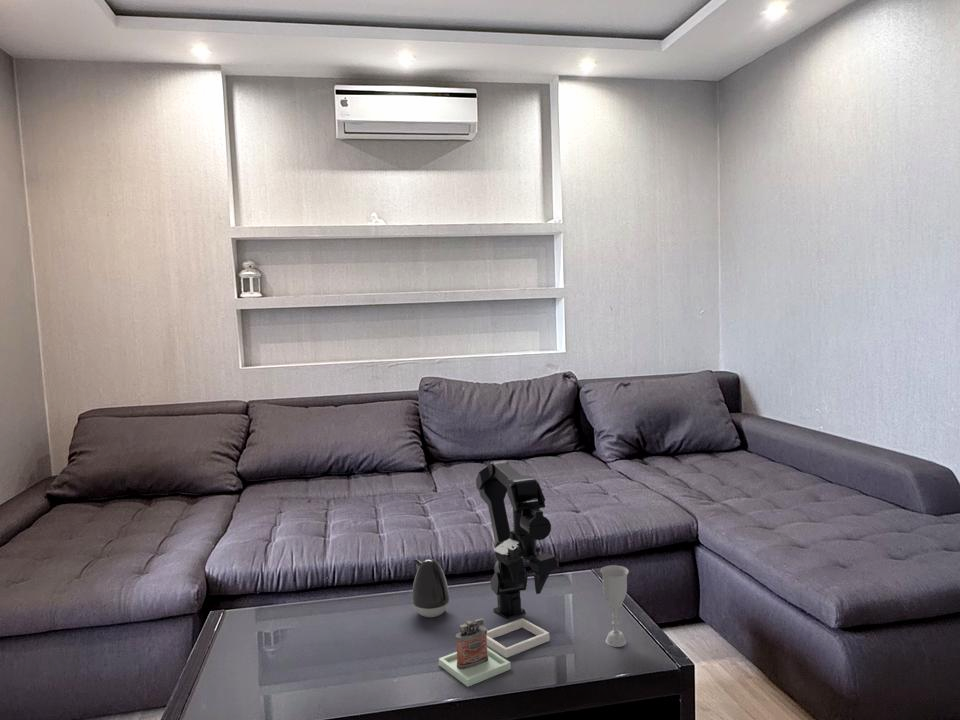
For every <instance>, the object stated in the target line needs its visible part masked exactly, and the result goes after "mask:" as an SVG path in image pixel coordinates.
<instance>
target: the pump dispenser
mask: <svg viewBox="0 0 960 720" xmlns="http://www.w3.org/2000/svg"><path fill="white" fill-rule="evenodd" d="M413 562H414V563H415V564H416V565H417V566H418V569H417V571H416V574H415V577H414V580H413V585H412V595H411V602H412V605H413V607H414V610H415V611H416V612H417V613H418V614H419V616H423V617H424V618H435V617H439V616H440V615H442V614H443V613H444V612H445V611H446V610H447V609H448V604H449V602H450V592H449V586H448V582H447V578H446V576H445V572H444V571H443V569H442V566H441V565H440V563H439V562H438V561H437V560H435V559H433V558H427V559H424V560H423V561H421V560H419V559H417V558H414V560H413Z"/></svg>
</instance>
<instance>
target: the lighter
mask: <svg viewBox="0 0 960 720" xmlns="http://www.w3.org/2000/svg"><path fill="white" fill-rule="evenodd" d="M484 625H485V620H484V618H477V619H475V620H473V621H471V620H466V622H465V623H464V624H460V625H459V630H460V631H459V632H457V633H456V634H455V640H456V652H457V668H458V669H468V668H472V667H475V666H478V665H480V664H483V663H485V662H487V661H488V655H487V647H488V646H487V631H488V628H487V627H486V626H484Z"/></svg>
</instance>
